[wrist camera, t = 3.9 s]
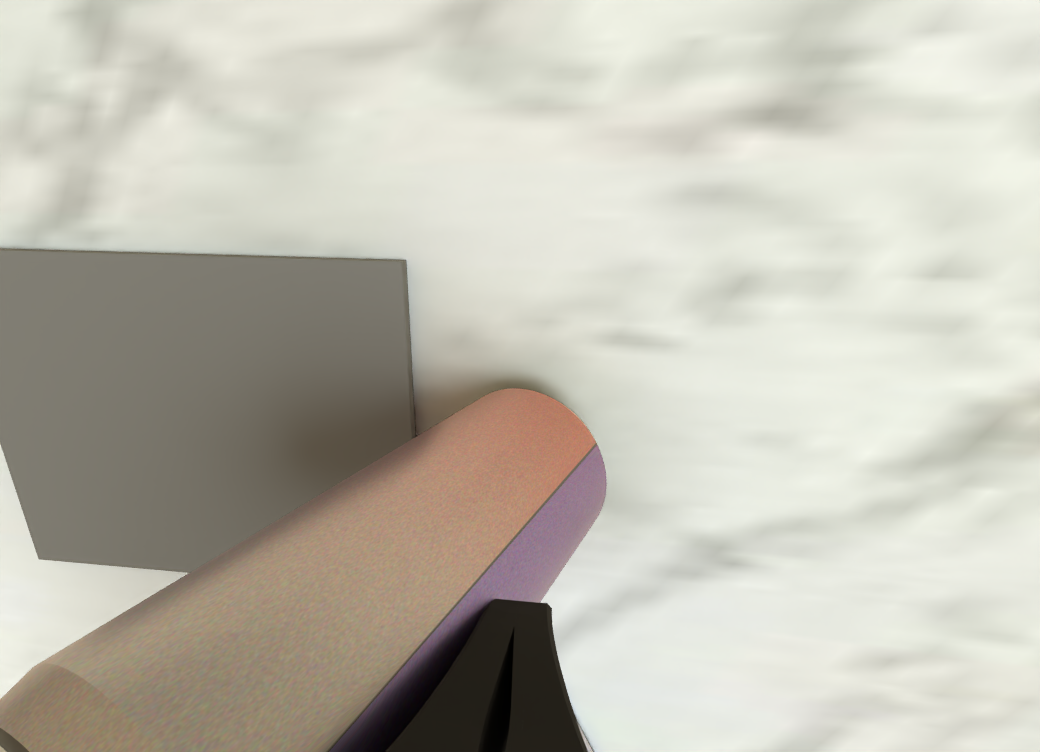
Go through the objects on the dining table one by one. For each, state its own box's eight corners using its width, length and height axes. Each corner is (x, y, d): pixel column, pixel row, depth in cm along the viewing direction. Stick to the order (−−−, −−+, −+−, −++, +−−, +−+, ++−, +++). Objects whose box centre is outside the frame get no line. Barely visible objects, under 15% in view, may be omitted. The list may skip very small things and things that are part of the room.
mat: (406, 260, 19) (401, 261, 19) (423, 585, 24) (420, 593, 23) (-50, 247, 21) (-65, 248, 20) (48, 552, 25) (38, 559, 25)
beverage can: (641, 514, 18) (266, 1207, 6) (509, 545, 22) (78, 1037, 9) (566, 357, 18) (-11, 730, 5) (442, 412, 21) (-103, 727, 9)
